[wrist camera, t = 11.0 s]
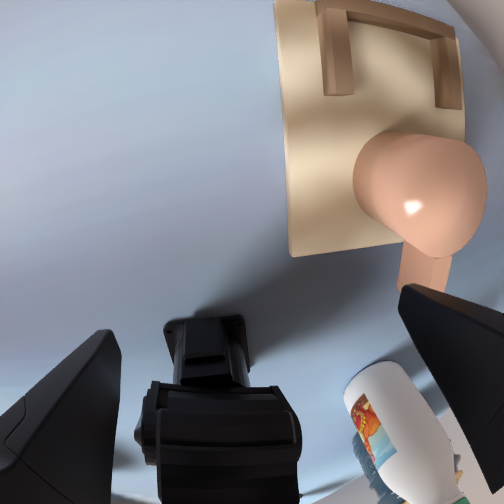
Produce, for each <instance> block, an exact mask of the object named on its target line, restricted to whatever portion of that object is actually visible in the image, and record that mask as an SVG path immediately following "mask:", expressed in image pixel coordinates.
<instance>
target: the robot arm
mask: <svg viewBox="0 0 504 504" xmlns="http://www.w3.org/2000/svg"><path fill="white" fill-rule="evenodd" d="M398 311H399V314H400V316H401V318H402V320H403V322H404V324H405V326H406V328H407V330H408V332H409V334H410V337H411V339H412V341H413V343H414V345H415V347H416V349H417V350H418V352H419V354H420V356H421V357H422V359H423V360H424V362H425V364H426V365H427V367H428V369H429V371H430V372H431V374H432V376H433V377H434V379H435V381H436V383H437V384H438V386H439V388H440V390H441V391H442V393H443V395H444V397H445V399H446V400H447V402H448V404H449V406H450V408H451V410H452V411H453V413H454V415H455V417H456V418H457V421H458V423H459V424H460V426H461V428H462V430H463V432H464V434H465V436H466V438H467V440H468V443H469V444H470V447H471V449H472V451H473V453H474V455H475V457H476V459H477V462H478V464H479V466H480V468H481V470H482V473H483V475H484V477H485V480H486V482H487V484H488V486H489V489H490V491H491V493H492V494H494V493H496V492H497V491H498V490H499V489H500V488H502V487H503V486H504V313H501V312H499V311H496V310H493V309H490V308H487V307H484V306H481V305H479V304H476V303H473V302H470V301H467V300H464V299H461V298H458V297H455V296H452V295H449V294H446V293H443V292H440V291H437V290H434V289H431V288H428V287H425V286H422V285H419V284H416V283H411V284H406V285H404V286H403V287H402V289H401V294H400V299H399V304H398ZM236 321H240V322H239V323H236ZM167 329H171V330H172V331H168V330H167ZM163 332H164V336H165V339H166V342H167V346H168V349H169V352H170V355H171V358H172V361H173V364H174V373H173V384H168V383H160V381H152V383H151V388H150V389H148V391H147V396H145V397H144V398H143V405H142V413H141V417H140V419H139V421H138V424H137V426H136V428H135V431H134V439H135V441H136V442H137V443H138V444H139V445H140V446H141V447H142V452H143V454H144V456H145V462H146V465H152V466H157V486H158V497H159V499H160V501H161V503H162V504H299V502H300V497H299V489H298V479H297V462H298V460H299V458H300V455H301V451H302V431H301V426H300V423H299V420H298V417H297V415H296V414H295V412H294V411H293V409H292V408H291V406H290V404H289V403H288V401H287V400H286V398H285V397H284V395H283V393H282V392H281V390H280V389H279V387H278V386H270V387H251V386H250V381H249V377H248V373H249V372H250V365H249V356H248V347H247V338H246V329H245V321H244V318H243V317H242V316H241V315H234V316H227V317H219V318H217V317H216V318H208V319H200V320H191V321H186V322H177V323H168V324H166V325H164V329H163ZM121 359H122V356H121V351H120V348H119V346H118V343H117V341H116V338H115V336H114V333H113V332H112V330H110V329H104V330H98V331H96V332H95V333H94V334H93V335H92V336H91V337H89V338H88V339H87V340H86V341H85V342H84V343H82V344H81V345H80V346H79V347H78V348H77V349H75V350H74V351H73V352H72V353H71V354H70V355H69V356H67V357H66V358H65V359H64V360H63V361H62V362H60V363H59V364H58V365H57V366H56V367H55V368H54V369H53V370H51V371H50V372H49V373H48V374H47V375H46V376H45V377H44V378H42V379H41V380H40V381H39V382H38V383H37V384H36V385H35V386H34V387H32V388H31V389H30V390H29V391H28V392H27V393H26V394H25V396H22V397H21V398H20V399H19V400H18V401H17V402H16V403H15V404H14V405H13V406H12V407H10V408H9V409H8V410H7V411H6V412H5V413H4V414H2V415H1V416H0V504H110V503H111V482H112V467H113V455H114V445H115V435H116V426H117V418H118V411H119V402H120V380H121Z"/></svg>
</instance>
